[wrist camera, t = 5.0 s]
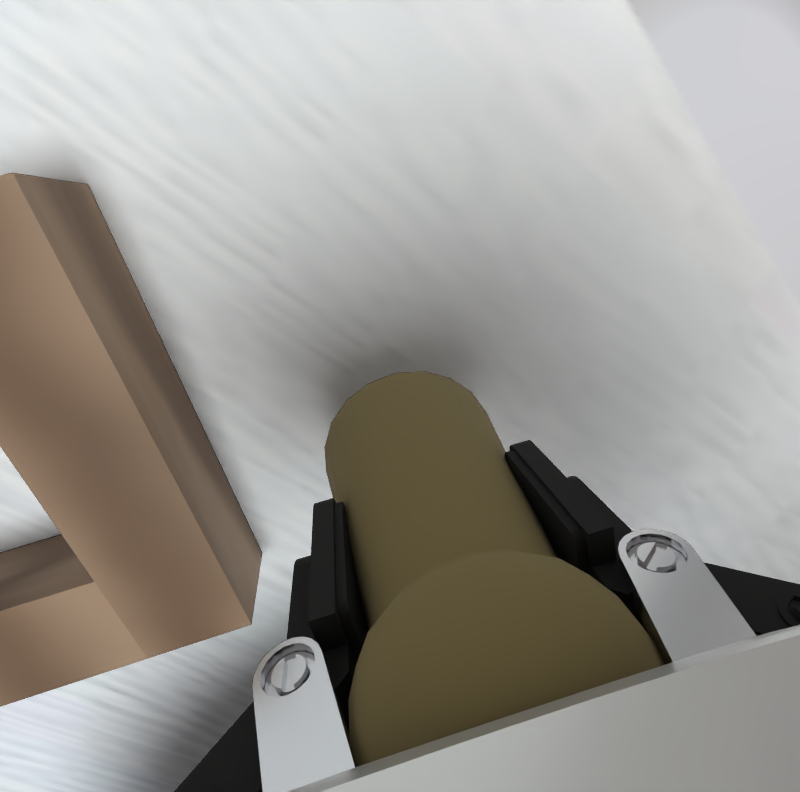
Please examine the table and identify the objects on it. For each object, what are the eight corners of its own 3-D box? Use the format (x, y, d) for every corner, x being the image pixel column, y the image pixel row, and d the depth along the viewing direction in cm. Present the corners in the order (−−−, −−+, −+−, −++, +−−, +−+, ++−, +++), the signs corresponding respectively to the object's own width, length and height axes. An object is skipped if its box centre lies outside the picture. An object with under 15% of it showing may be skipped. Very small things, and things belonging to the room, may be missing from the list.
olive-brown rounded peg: (296, 495, 16) (242, 977, 6) (369, 342, 14) (473, 619, 4) (444, 543, 18) (608, 981, 7) (523, 410, 16) (866, 726, 6)
